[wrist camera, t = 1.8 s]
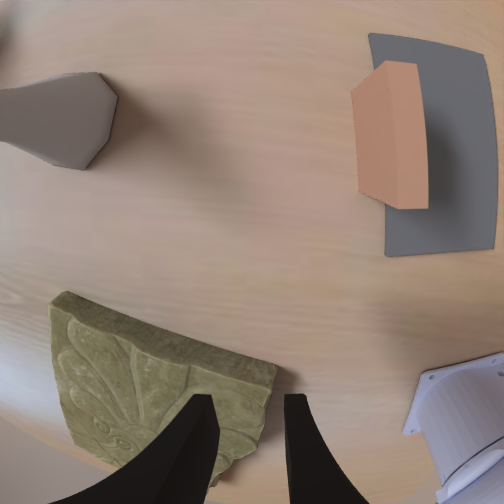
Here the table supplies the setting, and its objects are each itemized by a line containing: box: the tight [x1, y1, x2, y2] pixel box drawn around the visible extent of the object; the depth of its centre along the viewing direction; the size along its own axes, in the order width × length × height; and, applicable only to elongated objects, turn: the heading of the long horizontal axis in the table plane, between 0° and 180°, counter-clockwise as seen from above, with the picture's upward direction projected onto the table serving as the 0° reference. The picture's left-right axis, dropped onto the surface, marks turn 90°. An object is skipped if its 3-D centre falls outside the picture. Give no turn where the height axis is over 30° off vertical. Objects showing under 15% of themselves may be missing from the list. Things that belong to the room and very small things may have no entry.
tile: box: [351, 60, 428, 209], centre depth 13 cm, size 2×6×6 cm, turn 5°
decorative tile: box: [48, 291, 278, 494], centre depth 23 cm, size 19×20×4 cm
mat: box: [368, 33, 498, 257], centre depth 15 cm, size 9×14×1 cm, turn 5°
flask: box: [0, 72, 118, 170], centre depth 12 cm, size 7×7×10 cm
